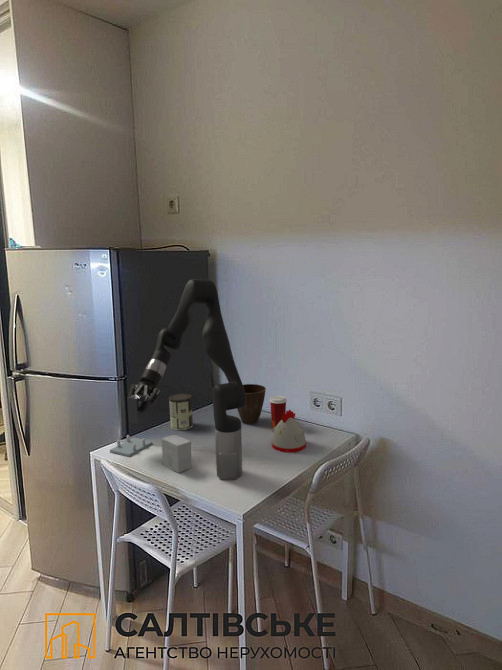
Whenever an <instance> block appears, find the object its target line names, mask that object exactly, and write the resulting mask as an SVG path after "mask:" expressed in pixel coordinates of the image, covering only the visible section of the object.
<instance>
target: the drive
mask: <svg viewBox="0 0 502 670" xmlns="http://www.w3.org/2000/svg"><path fill="white" fill-rule="evenodd" d="M144 397H145V396H144V394H140V393H138V394H134V395H132V396H130V397H129V396H127V397H126V402H127V414H128V415H127V416H128V422H129V423H131V424H135V425H139V424H141V423H143V422H145V421H146V420H148V419H150V418H151V417H150V415H151V414H150V403H149V404H147V406H146V409H145V410H144V411H143V412H140V411H139V408H140V406H141V404H142V402H144V401H143V400H144Z"/></svg>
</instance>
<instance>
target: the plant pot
mask: <svg viewBox="0 0 502 670" xmlns="http://www.w3.org/2000/svg"><path fill="white" fill-rule="evenodd" d="M243 387H244V390H245V395H246V403H245V405H244V406H243V407H241V408H237V409H236V410H237V411H238V415H239V419H240V420H241V423H243V424H245V425H254V424H257V423H258V422H259V419H260V415H261V414H262V410H263V406H264V402H265V397H266V389H267V388H266V387H265V386H263V385H260V384H255V383H246V384H245V383H243Z"/></svg>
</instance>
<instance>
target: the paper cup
mask: <svg viewBox="0 0 502 670" xmlns="http://www.w3.org/2000/svg"><path fill="white" fill-rule="evenodd" d="M287 402H288V400H287V397H286V396H284V395H274V396H271V397H270V399H269V403H270V404H269V405H270V415H271V417H270V418H271V427H272V429H273V428H274V427H276V426H277V425H278V423H279V422H280V421H281V420H282V418H281V416H283V412H285V413H286V411H287Z"/></svg>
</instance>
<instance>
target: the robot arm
mask: <svg viewBox="0 0 502 670" xmlns="http://www.w3.org/2000/svg"><path fill="white" fill-rule="evenodd" d="M183 289H184V290H183V291H182V294H181V298H180V301H179V304H178V308H177V309H176V311H175V314H174V316H173V318H172V319H171V321H170V323H169V325H168V328H166V327H165V328H162V329H161V330H160V331H159V332H158V336H157V340H156V346H155V350H154V352H153V353H152V356H151V358H150V360H149V362H148V363H147V364H146V367H145V369H144V371H143V373H142V375H141V376H140V381H139V382H138V383H137V384H134V383H132V384H131V386H130V389H129V392H128V397H130V396H132V395H134V394H138V393H140V394H144V396H145V397H144V400H143V401H144V402H142V404H141V406H140V408H139V411H140V412H143V411H144V410H145V409H146V406H147V404H149V405H150V404H151V405H152V404H153V403H154V402H155V401H156V399H158V397H159V396H160V394H161V393H162V391H161V390H160V389H159V388H157V387H158V386H159V384H160V382H161V380H162V378H163V377H164V374H165V372H166V368H167V367H168V365H169V362H170V361H171V358H172V354H171V353H170V352H169V350H167V349H166V348H168V349H170V350H172V351H178V350H179V349H180V348H181V347H182V345H183V342H184V336H185V333H186V331H187V329H188V328H189V326H190V325H191V322H192V314H191V310H190V308H191V306H193V304H201V305H205V306H206V311H207V318H206V321H205V324H204V327H203V329H202V332H201V339H202V343H203V346H204V351H205V354H206V356H208V358H209V359H210V360H211V361H212V362H213V364H215V365H216V366H217V367H218V368H219V369H220V370H221V372H223V374H224V376H225V378H226V379H227V382H226V383H220V384H215V385H213V387H212V392H211V393H212V395H211V397H212V407H213V408H212V410H213V421H214V427H215V428H214V431H215V432H214V433H215V435H214V437H215V465H216V467H215V468H216V469H215V470H216V476H217V477H218V478H219V480H238V478H240V477H241V476H242V475H243V449H242V448H243V445H242V440H243V438H242V421H241V418H240V417H238V416H234V415H231V414H230V415H229V414H227V411H231V410H238V409H237V408H241V407H243V406H244V405H245V403H246V395H245V390H244V387H243V385H244V383H243V381H242V379H241V376H240V374H239V371H238V368H237V366H236V362H235V360H234V355H233V352H232V348H231V343H230V339H229V336H228V333H227V329H226V326H225V323H224V319H223V315H222V310H221V305H220V300H219V294H218V289H217V286H216V284H215V282H214V281H213V280H210V279H200V278H193V279H189V280H188V282H186V284H185V286H184V288H183ZM165 347H166V348H165Z"/></svg>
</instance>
